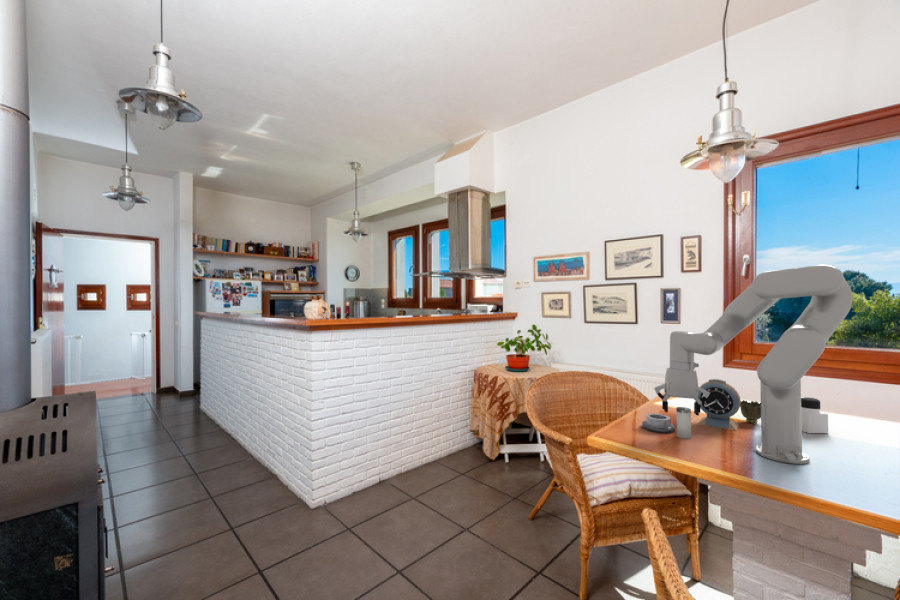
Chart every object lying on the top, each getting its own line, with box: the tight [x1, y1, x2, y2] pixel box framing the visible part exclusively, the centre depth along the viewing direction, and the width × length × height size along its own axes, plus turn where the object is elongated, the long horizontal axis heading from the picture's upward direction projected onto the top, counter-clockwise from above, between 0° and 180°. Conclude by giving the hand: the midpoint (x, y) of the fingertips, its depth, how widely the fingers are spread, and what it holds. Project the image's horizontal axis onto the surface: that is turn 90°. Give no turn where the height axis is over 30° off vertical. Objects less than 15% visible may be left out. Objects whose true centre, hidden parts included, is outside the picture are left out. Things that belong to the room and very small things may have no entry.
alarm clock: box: [697, 378, 742, 432], centre depth 148 cm, size 14×10×18 cm
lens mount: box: [641, 413, 676, 434], centre depth 145 cm, size 11×11×4 cm
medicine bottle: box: [801, 396, 829, 434], centre depth 140 cm, size 7×7×12 cm
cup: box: [739, 399, 761, 424], centre depth 150 cm, size 8×7×8 cm
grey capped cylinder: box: [675, 406, 692, 440], centre depth 136 cm, size 4×4×10 cm
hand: (680, 412), depth 136 cm, fingers open, 9 cm apart
